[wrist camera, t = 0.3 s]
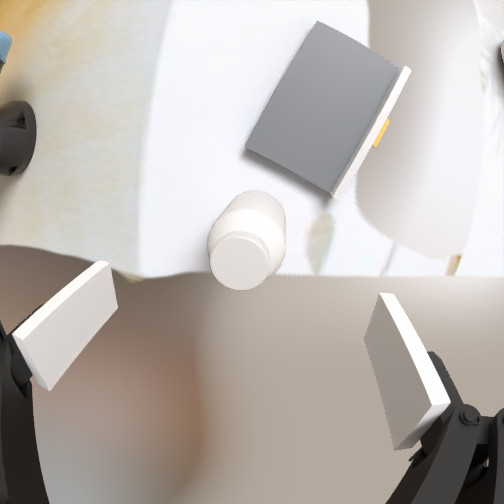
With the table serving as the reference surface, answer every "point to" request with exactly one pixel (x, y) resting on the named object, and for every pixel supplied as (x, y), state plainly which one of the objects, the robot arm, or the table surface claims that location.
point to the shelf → (328, 109)
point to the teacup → (502, 50)
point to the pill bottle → (248, 240)
